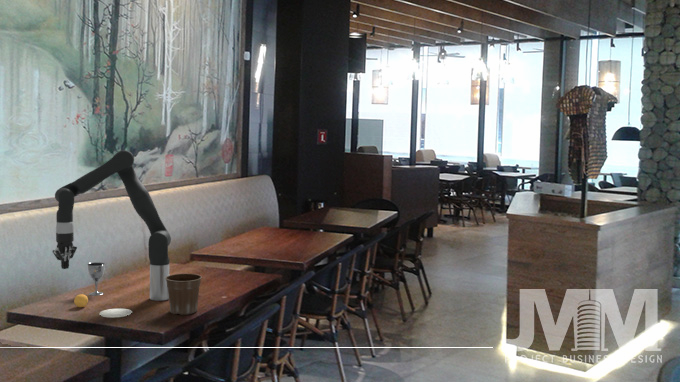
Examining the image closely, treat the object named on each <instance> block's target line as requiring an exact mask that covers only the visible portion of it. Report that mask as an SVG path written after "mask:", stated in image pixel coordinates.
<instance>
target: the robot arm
mask: <svg viewBox="0 0 680 382" xmlns="http://www.w3.org/2000/svg"><path fill="white" fill-rule="evenodd" d="M134 163H135V157H134V155H133V153H132V152H131V151H129V150H126V149H125V150H124V149H123V150H119V151H117V152H116V153H115V154H114V155H113V157H111V158H110V159H109V160H108V161H106V162H105V163H103V164H102V165H100V166H98V167H96V168H95V169H92V170H91V171H89V172H87V173H85V174H84V175H82V176H80V177H79V178H77V179H75V180H74V181H72V182H69V183H68V184H66V185H63V186H62V187H60V188H58V189H57V190H56V191H55V193H54V198H55V200H56V202H58V206H57V207H58V210H56V219H55V221H56V224H55V241H56V248H55V249H52V253H53V255H54V257H55V258H56V260H57V261H60V266H61V267H60V268H61V269H63V270H67V269H69V267H70V260H71V259H73V257H74V256H75V253H76V251H77V249H78V246H75V245H74V243H73V242H74V240H75V239H74V234H75V233H74V229H75V228H74V214H73V212H74V206H75V198H76V196H78V195H82V194H84V193H87V192H88V191H90V190H92V189H93V188H95V187H97V186H98V185H99V184H100V183H102V182H103V181H105V180H106V179H108V178H110V177H111V176H113V175H114V174H118V177H119V178H120V179H121V181H122V184H123V185H124V188H125V190H126V191H125V192H126V193H127V195H128V198H129V201H130V202H131V205H132V206H133V208H134V210H135V213H137V214H138V217H139V218H141V220H142V221H143V222H144V223H145V224H146V227H147V229H148V231H149V233H150V236H149V238H148V242H147V243H148V246H147V247H148V259H149V300H152V301H167V300H168V301H169V293H168V287H167V281H166V279H165V278H166V277H167V276H169V275H170V258H169V246H170V244H171V242H172V237H171V234H170V232H169V231H168V230H167V228H166V226H165V225H164V223H163V221H162V219H161V218H160V215H159V213H158V210H157V207H156V205H155V204H154V200H153V199H152V197H151V195H150V192H149V191H148V189H147V188H146V186H145V185H144V184H143V182H142V181H141V180H140V179H139V177H138V176H137V174H136V171H135V168H134V166H133V165H134Z"/></svg>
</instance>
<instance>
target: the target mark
mask: <svg viewBox="0 0 680 382" xmlns="http://www.w3.org/2000/svg"><path fill="white" fill-rule="evenodd" d="M131 313H132V314H133V311H132V309H128V308H110V309H109V308H108V309H105V310H104V309H103V310H101V311H100V312H99V316H100V315H101V317H102V318H123V317H127V315H128V316H130V315H131Z"/></svg>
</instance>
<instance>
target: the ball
mask: <svg viewBox="0 0 680 382" xmlns="http://www.w3.org/2000/svg"><path fill="white" fill-rule="evenodd" d="M73 301H74V303H73V304H74V305H75V306H76V307H78V308H85V307H86V306H87V305H88V303H89V298H88V296H87V295H86V294H83V293H82V294H81V293H80V294H78V295H76V296H75V297H74V300H73Z"/></svg>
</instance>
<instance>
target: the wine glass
mask: <svg viewBox="0 0 680 382" xmlns="http://www.w3.org/2000/svg"><path fill="white" fill-rule="evenodd" d="M105 266H106V265H105V262H98V261H97V262H89V263H87V272H88V275H89V277H90V278H91V279H92V281H93V283H94V288H95V289H94V291H93V292H90V293H88V296H96V297H97V296H103V295H105V294H104V292H103V291H99V290H98V285H99V284H98V283H99V281H100V280H101V278H102V277H103V276H104V273H105Z"/></svg>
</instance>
